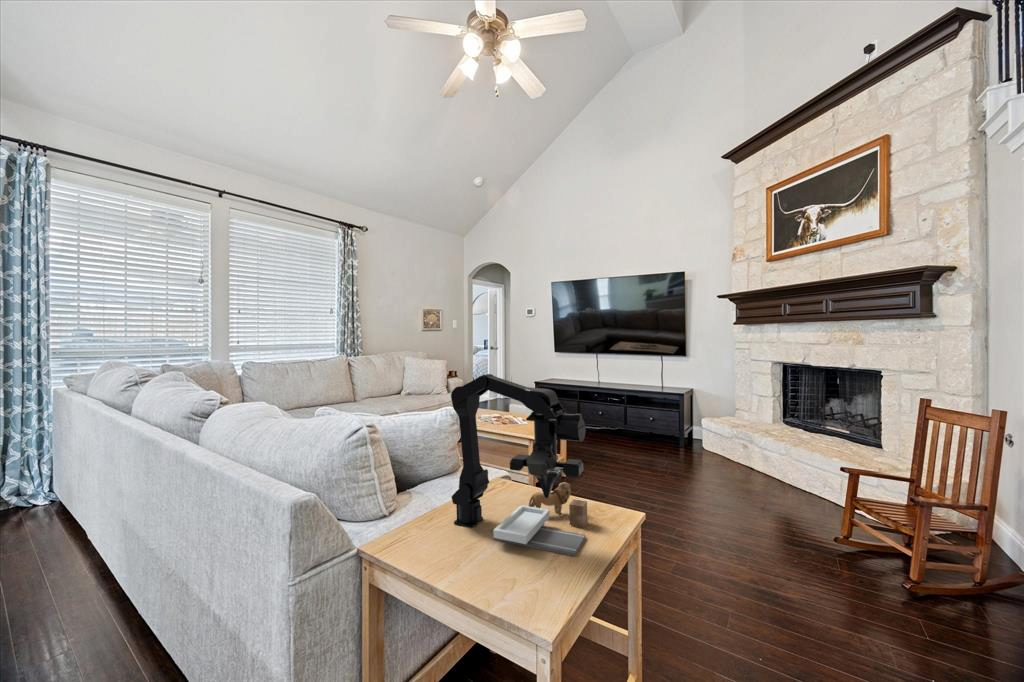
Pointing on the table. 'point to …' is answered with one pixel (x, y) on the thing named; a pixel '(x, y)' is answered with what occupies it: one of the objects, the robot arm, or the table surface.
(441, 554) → the table surface
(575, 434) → the robot arm
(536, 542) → the track mat
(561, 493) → the lion figurine
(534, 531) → the white rimmed tray
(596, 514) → the table surface
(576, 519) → the brown wooden block
